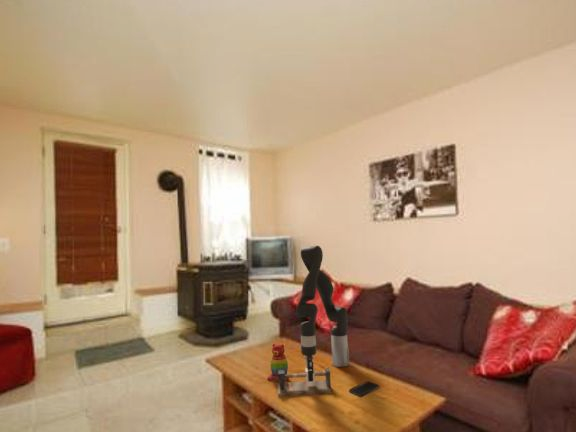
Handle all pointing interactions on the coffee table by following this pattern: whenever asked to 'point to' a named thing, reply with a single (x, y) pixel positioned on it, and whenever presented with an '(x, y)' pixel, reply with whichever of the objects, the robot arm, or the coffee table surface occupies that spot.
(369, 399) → the coffee table surface
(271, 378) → the stacking bear
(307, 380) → the sleeve
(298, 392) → the grey slider rail toy
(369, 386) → the phone
